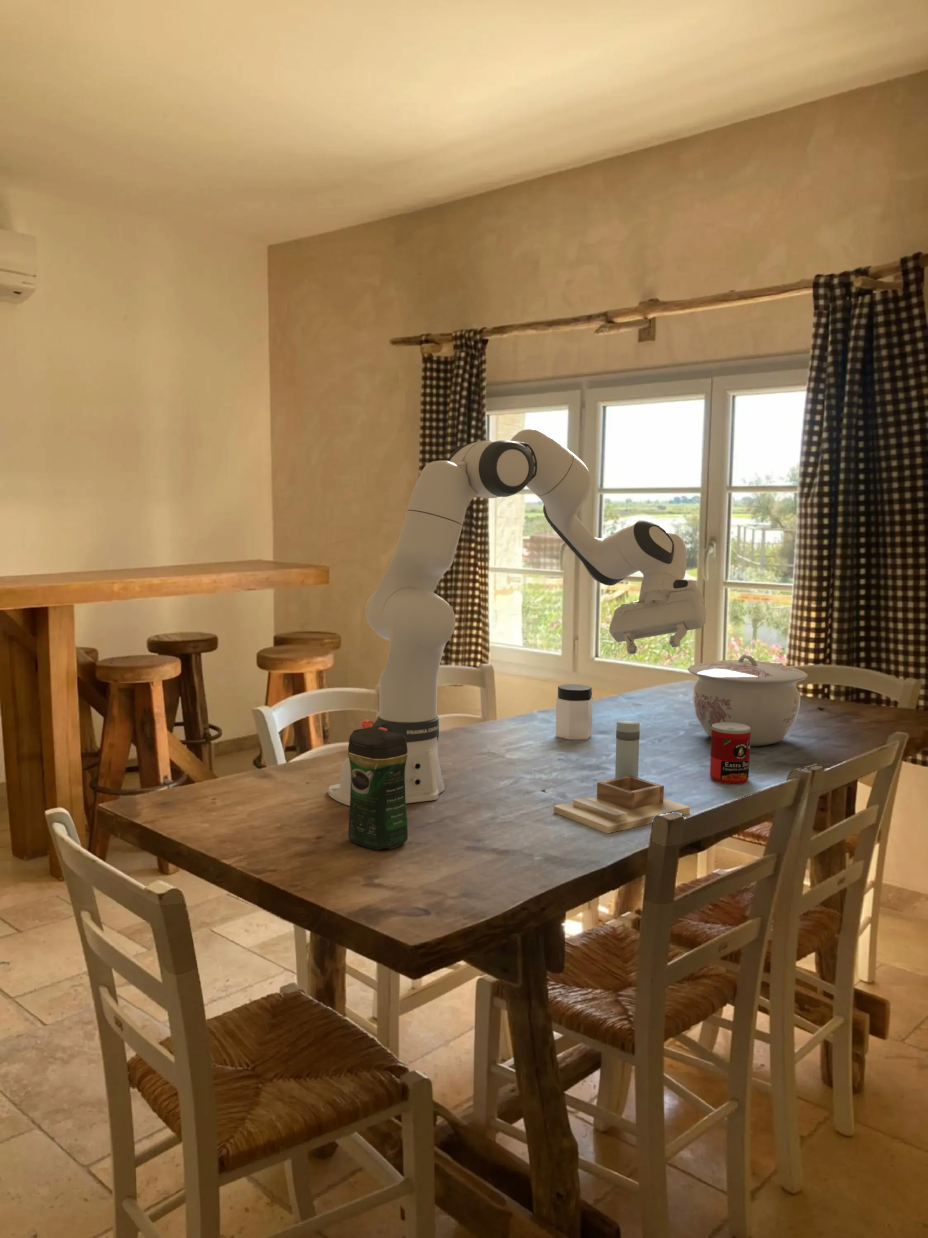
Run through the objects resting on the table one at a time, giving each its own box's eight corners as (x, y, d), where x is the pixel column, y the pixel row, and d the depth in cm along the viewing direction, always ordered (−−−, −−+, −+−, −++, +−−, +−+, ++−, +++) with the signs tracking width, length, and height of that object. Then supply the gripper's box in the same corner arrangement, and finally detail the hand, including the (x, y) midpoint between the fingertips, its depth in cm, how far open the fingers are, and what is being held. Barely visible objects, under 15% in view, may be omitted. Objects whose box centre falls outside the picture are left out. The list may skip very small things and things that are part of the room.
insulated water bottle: (626, 792, 186) (628, 726, 185) (609, 787, 190) (611, 722, 189) (642, 789, 189) (644, 723, 188) (626, 783, 193) (628, 719, 191)
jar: (599, 737, 232) (600, 688, 231) (575, 742, 227) (576, 691, 226) (572, 730, 239) (573, 682, 238) (548, 735, 234) (549, 686, 233)
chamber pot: (781, 760, 212) (785, 667, 210) (665, 741, 228) (668, 655, 226) (821, 737, 234) (825, 653, 232) (713, 722, 251) (716, 642, 248)
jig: (608, 834, 162) (608, 809, 162) (553, 812, 174) (554, 789, 173) (689, 813, 174) (690, 790, 173) (633, 794, 185) (634, 773, 185)
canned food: (722, 786, 192) (724, 731, 190) (702, 775, 199) (704, 723, 198) (756, 783, 194) (758, 729, 192) (735, 773, 201) (737, 721, 200)
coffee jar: (416, 843, 157) (416, 730, 155) (378, 855, 151) (378, 738, 149) (377, 829, 164) (377, 721, 162) (340, 840, 158) (339, 728, 156)
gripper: (609, 596, 208) (599, 647, 200) (700, 578, 197) (693, 631, 189) (621, 615, 212) (612, 665, 204) (711, 598, 201) (705, 650, 193)
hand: (652, 648), depth 196 cm, fingers open, 8 cm apart
